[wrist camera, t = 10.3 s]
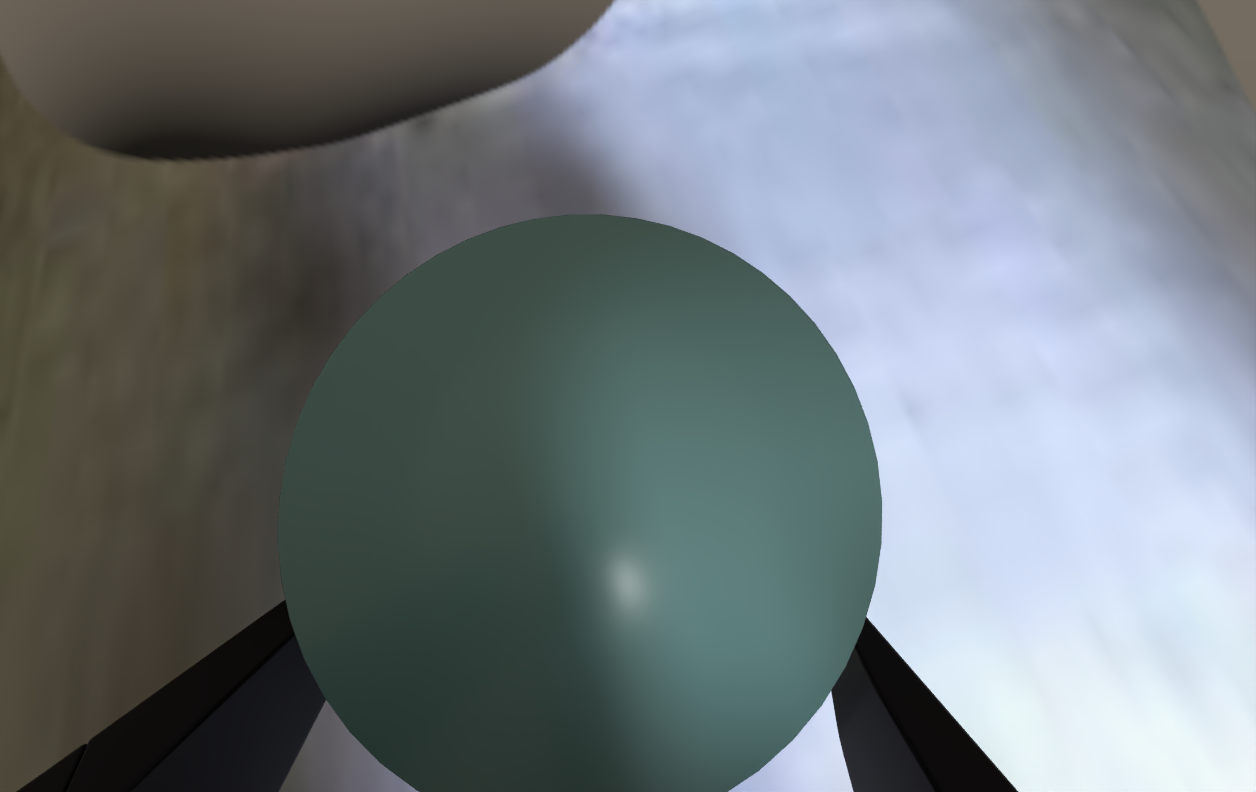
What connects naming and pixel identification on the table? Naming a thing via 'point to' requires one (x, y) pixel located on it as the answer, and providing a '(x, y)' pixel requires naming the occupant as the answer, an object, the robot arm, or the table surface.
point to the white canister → (580, 515)
